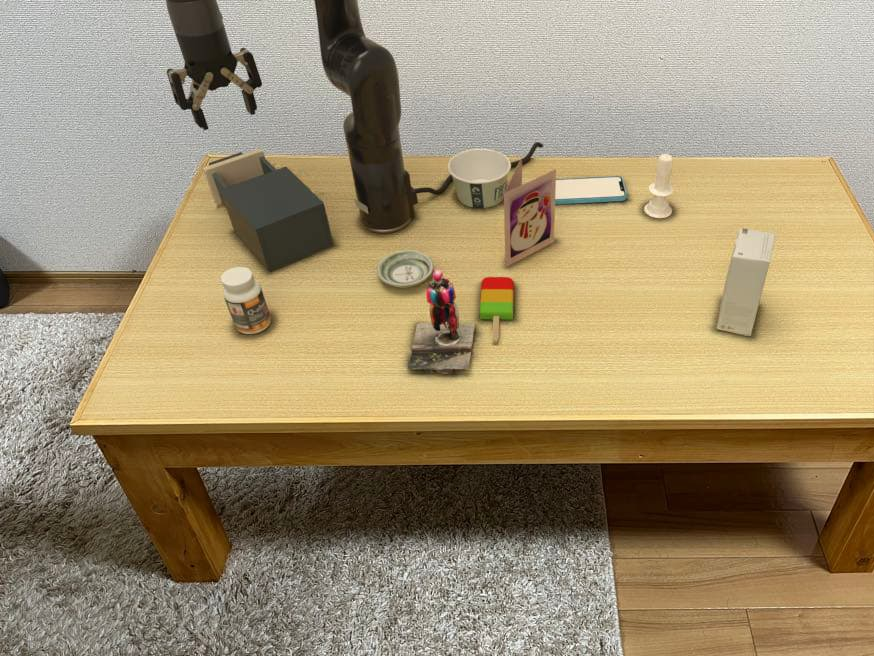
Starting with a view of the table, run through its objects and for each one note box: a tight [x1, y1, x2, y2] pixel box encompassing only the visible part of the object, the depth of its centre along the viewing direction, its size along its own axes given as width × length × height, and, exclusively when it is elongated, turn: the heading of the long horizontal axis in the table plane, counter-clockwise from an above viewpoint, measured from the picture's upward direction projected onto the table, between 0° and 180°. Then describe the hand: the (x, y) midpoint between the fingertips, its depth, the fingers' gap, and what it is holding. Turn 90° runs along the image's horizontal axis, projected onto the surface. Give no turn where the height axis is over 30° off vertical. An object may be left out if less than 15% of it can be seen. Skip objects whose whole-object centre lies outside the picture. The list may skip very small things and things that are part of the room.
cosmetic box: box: [716, 227, 776, 337], centre depth 122 cm, size 8×6×15 cm
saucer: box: [376, 249, 434, 289], centre depth 133 cm, size 10×10×2 cm
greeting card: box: [503, 157, 557, 268], centre depth 134 cm, size 11×7×15 cm, turn 131°
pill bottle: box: [220, 266, 272, 335], centre depth 121 cm, size 6×6×10 cm
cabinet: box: [220, 166, 335, 273], centre depth 137 cm, size 15×13×9 cm
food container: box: [447, 148, 512, 209], centre depth 148 cm, size 12×12×6 cm
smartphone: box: [555, 175, 627, 205], centre depth 151 cm, size 8×1×15 cm
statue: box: [406, 268, 476, 375], centre depth 117 cm, size 11×9×15 cm
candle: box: [643, 153, 675, 219], centre depth 143 cm, size 5×5×12 cm
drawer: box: [202, 147, 277, 210], centre depth 144 cm, size 18×11×7 cm, turn 38°
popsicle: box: [479, 276, 515, 342], centre depth 127 cm, size 6×15×2 cm, turn 0°
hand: (228, 120), depth 133 cm, fingers open, 8 cm apart
